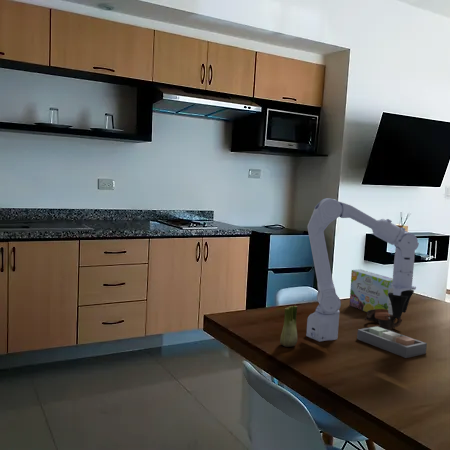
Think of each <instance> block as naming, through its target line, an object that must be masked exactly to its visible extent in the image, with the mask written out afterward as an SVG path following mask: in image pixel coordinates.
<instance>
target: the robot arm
mask: <svg viewBox="0 0 450 450" xmlns="http://www.w3.org/2000/svg"><path fill="white" fill-rule="evenodd" d="M313 208H314V209H313V212H312V213H311V217H310V219H309V221H308V224H307V232H308V238H309V242H310V249H311V254H312V259H313V265H314V270H315V276H316V281H317V293H316V294H317V295H316V301H317V302H318V305H317V306H316V308H315V311H314V312H313V313H310V314H309V315H308V317H307V321H306V334H305V335H306V337H308V338H309V339H313V340H314V341H317V342H324V341H334V340H338V337H339V323H340V309H341V305H342V302H341V299H340V297H339V296H338V294H337V293H336V289H335V288H336V287H335V284H334V281H333V276H332V270H331V264H330V260H329V254H328V248H327V243H326V238H325V232H324V231H326V229H327V227H328V226H329V225H330V224H331V223H332V222H333V221H335V220H337V219H338V218H341V219H348V218H349V219H352V220H354V221H355V222H357V223H359V224H362V225H363V226H365V227H367V228H369V229H371V230H372V234H373V236H375V237H376V238H378V239H381V241H384V242H386V243H387V244H389V245H392V246H394V247H395V249H394V250H395V252H394V257H393V258H394V260H393V271H392V272H393V273H392V278H393V281H392V284H391V287H392V288H393V289H394V290H393V293H390V292H389V293H388V297H389V299H390V301H391V305H392V313H393V317H398V318H400V317H401V318H402V314H403V313H404V314H405V313H406V312H407V309H408V306H409V302H410V300H411V297H412V295H414V293H415V290H416V289H417V287H416V286H415V285H414V286H413V277H414V269H415V268H414V267H415V266H414V265H415V251H416V250H417V249H418V247H419V245H420V243H419V241H418V238H417V236H416V235H415V234H413V233H411V232H408V231H407V230H406V227H405V228H404V227H403V226H402V227H399V226H398V225H396V224H394V223H392V220H391V219H389V218H387V219H385V218H381V219H376V218H374V217H372V216H370V215H369V214H367V213H365V212H363V211H362V210H360V209H358V208H356V207H355V206H353V205H351V204H348V203H346V202H343V201H339V200H338V199H335V198H330V197H327V198H323V199H321V200H320V201H319V202H318V203H317V204H316V205H315V206H314V207H313Z"/></svg>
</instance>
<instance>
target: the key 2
mask: <svg viewBox="0 0 450 450" xmlns="http://www.w3.org/2000/svg"><path fill="white" fill-rule="evenodd" d="M406 336H407V335H404V336H401V337H396V342H397V343H399V344H402V345H405V346H408V345H413V344H414V341H415V338H413V339H412V337H410V336H407V337H406ZM409 337H410V338H409Z"/></svg>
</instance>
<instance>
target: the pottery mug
mask: <svg viewBox="0 0 450 450" xmlns="http://www.w3.org/2000/svg"><path fill="white" fill-rule="evenodd" d="M389 317H390V319H389ZM396 319H397V321H396V322H395V320H396ZM364 320H365V321H366V320H367V321H369V322H375V323H378V324H377V325H373V327H376V326H378V327H381V328H384V329H387V330H390V331H392V330H394V329H395V328H397V327H399V326H400V325H401V323H402V322H403V319H402V316H401V317H400V318H398V317H393V314H392V315H391V314H389V313H388V310H386V309H374V310H369V311H367V312H366V316H365V318H364Z"/></svg>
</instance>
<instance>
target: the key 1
mask: <svg viewBox="0 0 450 450" xmlns="http://www.w3.org/2000/svg"><path fill="white" fill-rule="evenodd" d="M371 327H372V328H370V327H368V328H369V333H372V334H375V335H377V336H380V337H382V333H383V332H386V331H387V330H386V329H383V328H380V327H374V326H371Z"/></svg>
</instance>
